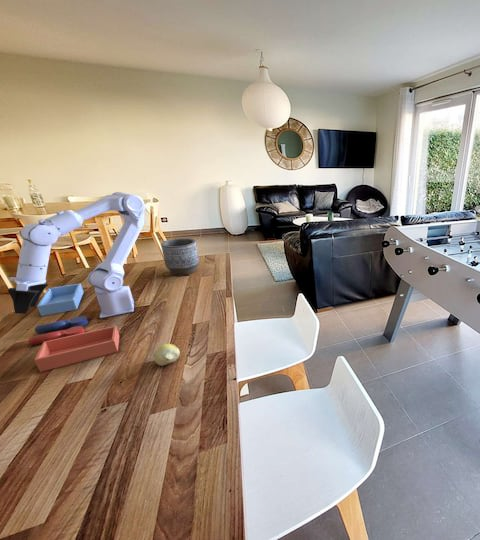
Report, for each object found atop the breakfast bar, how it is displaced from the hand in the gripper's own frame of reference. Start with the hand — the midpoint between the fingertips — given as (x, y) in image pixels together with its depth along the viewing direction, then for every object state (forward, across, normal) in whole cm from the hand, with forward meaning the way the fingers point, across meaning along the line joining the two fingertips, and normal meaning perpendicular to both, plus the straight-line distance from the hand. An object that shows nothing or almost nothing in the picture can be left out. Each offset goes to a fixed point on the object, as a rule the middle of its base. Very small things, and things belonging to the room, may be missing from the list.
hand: (25, 309), depth 84 cm
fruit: (+5, +28, +35) cm, 45 cm away
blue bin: (+5, -28, +4) cm, 28 cm away
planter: (-11, -40, +42) cm, 60 cm away
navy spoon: (+8, -7, +8) cm, 13 cm away
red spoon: (+9, 0, +8) cm, 12 cm away
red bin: (+9, +12, +15) cm, 21 cm away
